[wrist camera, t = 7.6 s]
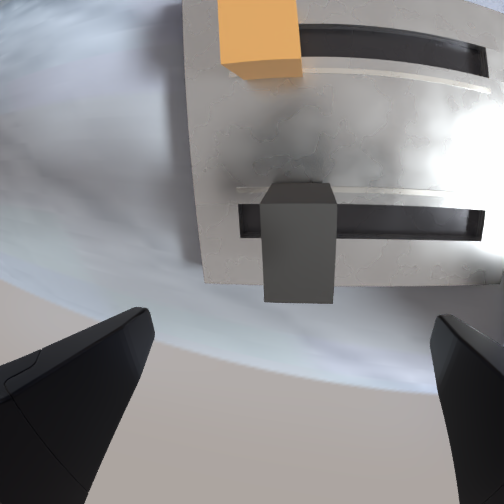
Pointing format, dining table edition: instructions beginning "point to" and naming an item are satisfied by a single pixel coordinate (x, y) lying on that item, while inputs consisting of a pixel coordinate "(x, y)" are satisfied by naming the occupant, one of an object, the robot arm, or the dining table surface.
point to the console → (358, 140)
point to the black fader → (298, 242)
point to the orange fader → (260, 38)
